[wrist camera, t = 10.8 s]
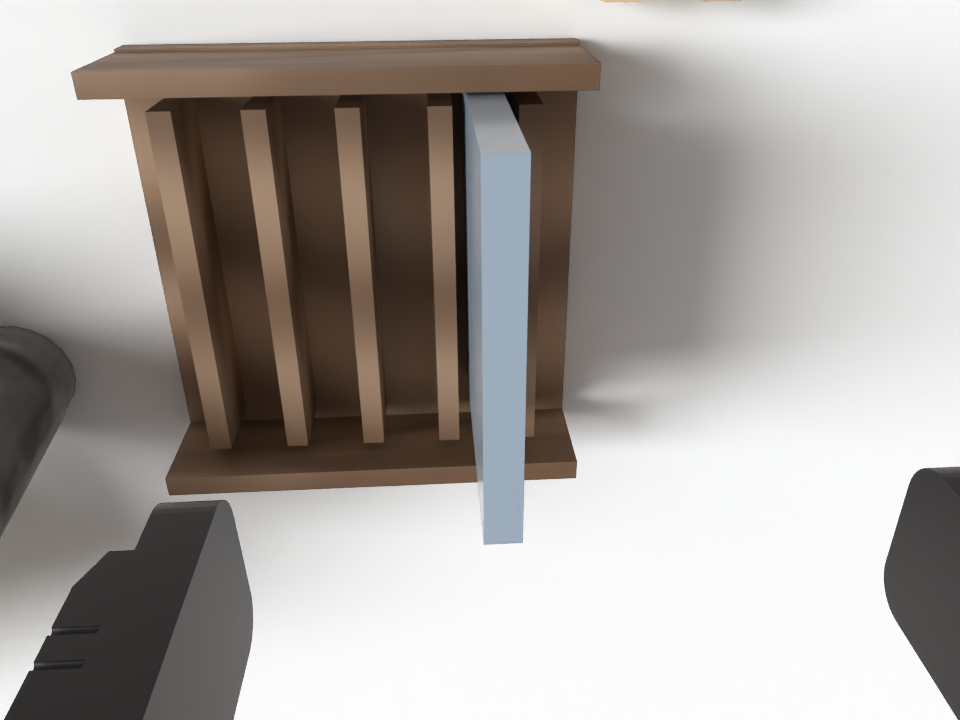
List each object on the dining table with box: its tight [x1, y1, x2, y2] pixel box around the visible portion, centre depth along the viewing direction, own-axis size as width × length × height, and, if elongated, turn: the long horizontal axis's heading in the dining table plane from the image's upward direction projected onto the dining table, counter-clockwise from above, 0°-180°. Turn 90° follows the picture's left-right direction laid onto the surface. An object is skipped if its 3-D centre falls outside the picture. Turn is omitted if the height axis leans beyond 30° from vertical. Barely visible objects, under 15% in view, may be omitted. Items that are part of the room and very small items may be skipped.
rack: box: [71, 38, 601, 495], centre depth 31 cm, size 16×16×5 cm
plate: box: [462, 92, 531, 545], centre depth 27 cm, size 12×1×11 cm, turn 1°
